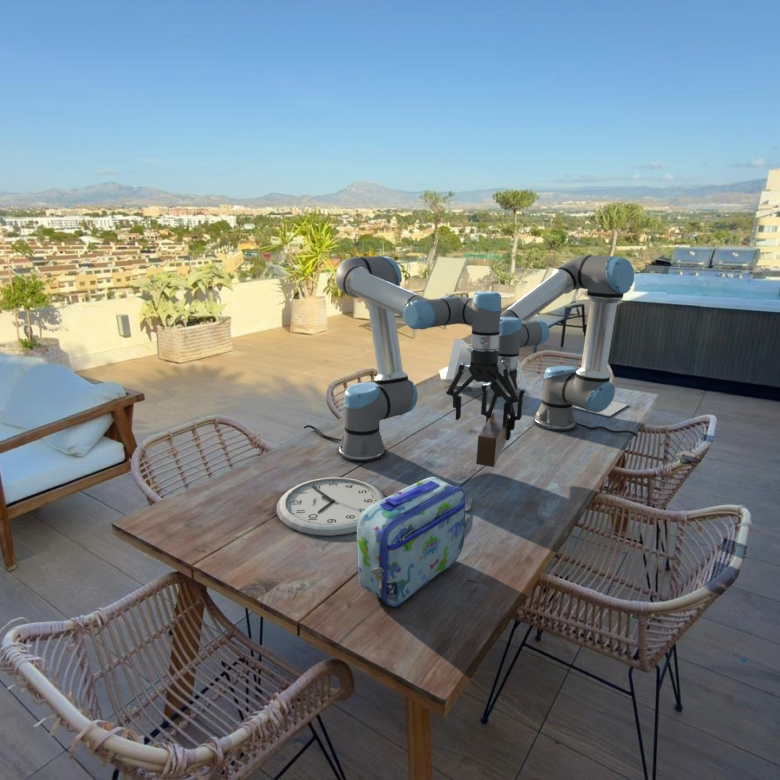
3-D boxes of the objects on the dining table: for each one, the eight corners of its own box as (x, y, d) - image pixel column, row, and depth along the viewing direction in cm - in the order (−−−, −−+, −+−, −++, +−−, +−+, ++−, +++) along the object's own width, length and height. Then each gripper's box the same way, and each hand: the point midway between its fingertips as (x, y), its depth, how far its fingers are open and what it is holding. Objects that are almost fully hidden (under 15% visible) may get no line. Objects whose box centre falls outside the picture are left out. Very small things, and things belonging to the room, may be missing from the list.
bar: (493, 434, 173) (495, 409, 170) (508, 436, 171) (511, 411, 168) (476, 464, 151) (478, 435, 148) (494, 467, 149) (496, 438, 146)
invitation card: (608, 416, 214) (573, 407, 224) (608, 416, 214) (573, 408, 224) (628, 404, 229) (594, 396, 238) (628, 405, 229) (594, 397, 238)
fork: (449, 531, 131) (450, 524, 131) (463, 501, 146) (463, 495, 145) (459, 533, 130) (460, 526, 130) (472, 503, 145) (473, 496, 144)
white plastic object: (461, 429, 252) (437, 405, 227) (444, 352, 274) (420, 323, 250) (535, 404, 240) (518, 377, 215) (510, 326, 262) (492, 293, 237)
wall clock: (392, 527, 129) (268, 531, 127) (391, 533, 130) (269, 537, 127) (383, 473, 158) (282, 475, 155) (383, 478, 158) (282, 480, 156)
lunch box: (386, 620, 101) (388, 525, 95) (350, 593, 108) (349, 503, 102) (468, 563, 119) (474, 480, 112) (432, 543, 126) (436, 464, 120)
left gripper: (437, 348, 145) (435, 420, 151) (529, 355, 136) (523, 431, 142) (445, 343, 152) (443, 412, 158) (533, 349, 143) (527, 423, 149)
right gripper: (473, 367, 162) (468, 437, 169) (533, 374, 155) (526, 446, 162) (478, 361, 168) (474, 429, 175) (536, 368, 162) (529, 437, 169)
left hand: (481, 421), depth 150 cm, fingers open, 13 cm apart
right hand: (499, 437), depth 169 cm, fingers closed on bar, 5 cm apart
